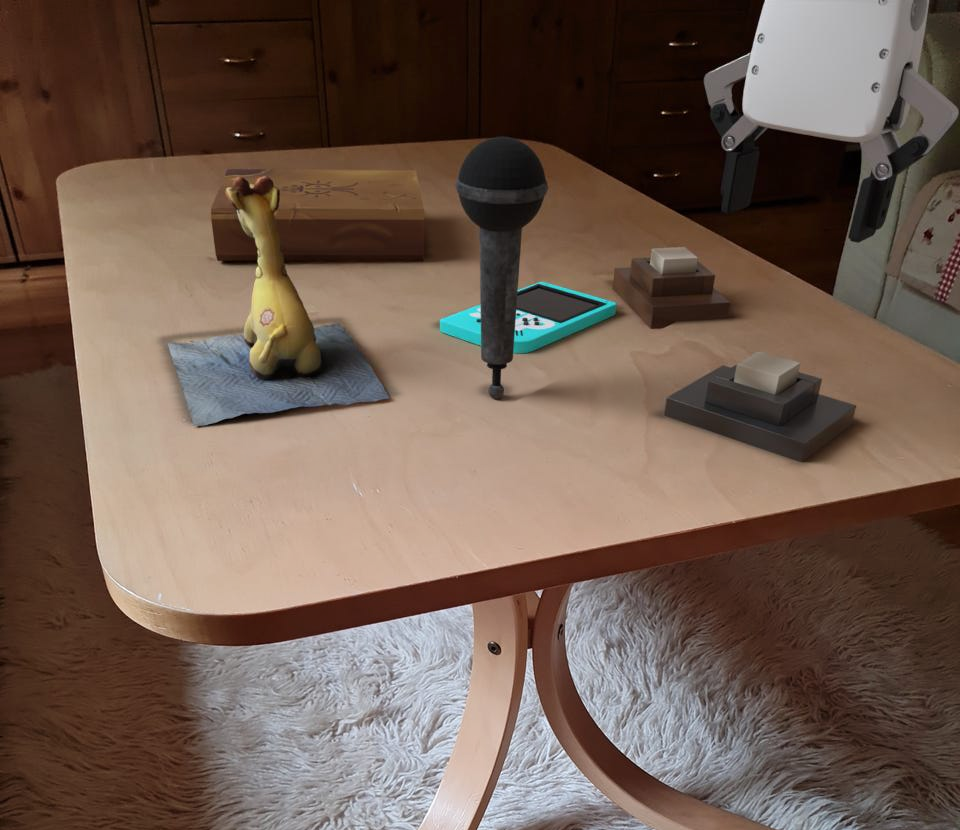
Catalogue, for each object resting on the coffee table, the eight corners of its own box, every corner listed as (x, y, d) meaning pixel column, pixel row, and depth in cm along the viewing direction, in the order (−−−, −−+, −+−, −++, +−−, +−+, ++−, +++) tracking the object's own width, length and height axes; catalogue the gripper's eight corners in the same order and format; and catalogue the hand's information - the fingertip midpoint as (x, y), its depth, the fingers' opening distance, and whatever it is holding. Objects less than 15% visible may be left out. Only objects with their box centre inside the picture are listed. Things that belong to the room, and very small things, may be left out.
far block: (727, 324, 100) (734, 283, 97) (650, 329, 98) (655, 287, 96) (683, 285, 109) (688, 247, 107) (612, 289, 108) (616, 250, 105)
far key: (695, 275, 100) (698, 257, 99) (661, 277, 100) (663, 259, 99) (682, 264, 103) (685, 246, 102) (649, 266, 103) (651, 248, 101)
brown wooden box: (217, 265, 112) (209, 210, 108) (233, 218, 126) (227, 169, 123) (424, 262, 114) (423, 208, 110) (416, 217, 128) (415, 168, 125)
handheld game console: (436, 330, 97) (436, 316, 96) (539, 291, 107) (540, 278, 106) (517, 358, 92) (517, 343, 91) (617, 314, 101) (619, 300, 101)
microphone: (483, 422, 81) (488, 151, 69) (440, 392, 86) (437, 133, 73) (552, 404, 84) (569, 142, 72) (507, 375, 89) (516, 124, 76)
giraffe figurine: (338, 324, 97) (320, 145, 87) (390, 405, 84) (377, 206, 74) (168, 349, 93) (129, 164, 83) (196, 438, 80) (153, 232, 70)
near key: (796, 384, 79) (800, 362, 78) (774, 398, 77) (779, 376, 76) (754, 371, 81) (758, 350, 80) (732, 385, 79) (736, 363, 78)
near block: (850, 430, 81) (862, 383, 79) (799, 469, 76) (811, 420, 73) (718, 389, 87) (726, 344, 85) (662, 422, 82) (669, 375, 79)
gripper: (1027, -65, 59) (936, 239, 69) (759, -82, 67) (714, 191, 78) (984, -64, 54) (894, 262, 64) (703, -82, 63) (663, 208, 73)
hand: (796, 223), depth 71 cm, fingers open, 9 cm apart
